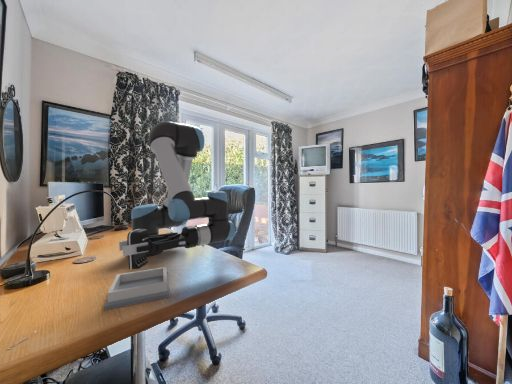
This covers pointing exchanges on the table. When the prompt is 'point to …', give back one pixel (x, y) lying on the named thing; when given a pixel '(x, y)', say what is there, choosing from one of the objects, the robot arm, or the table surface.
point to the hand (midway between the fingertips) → (121, 248)
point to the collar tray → (138, 288)
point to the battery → (137, 238)
